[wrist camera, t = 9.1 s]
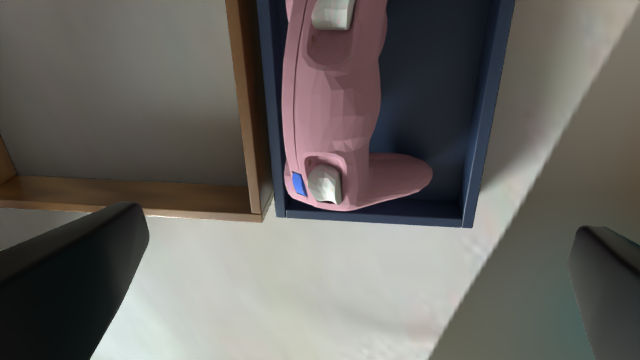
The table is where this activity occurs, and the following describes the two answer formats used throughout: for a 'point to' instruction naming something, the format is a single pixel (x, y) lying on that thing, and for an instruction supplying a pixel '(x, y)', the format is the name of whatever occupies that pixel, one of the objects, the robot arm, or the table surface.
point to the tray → (412, 104)
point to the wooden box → (165, 197)
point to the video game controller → (339, 108)
